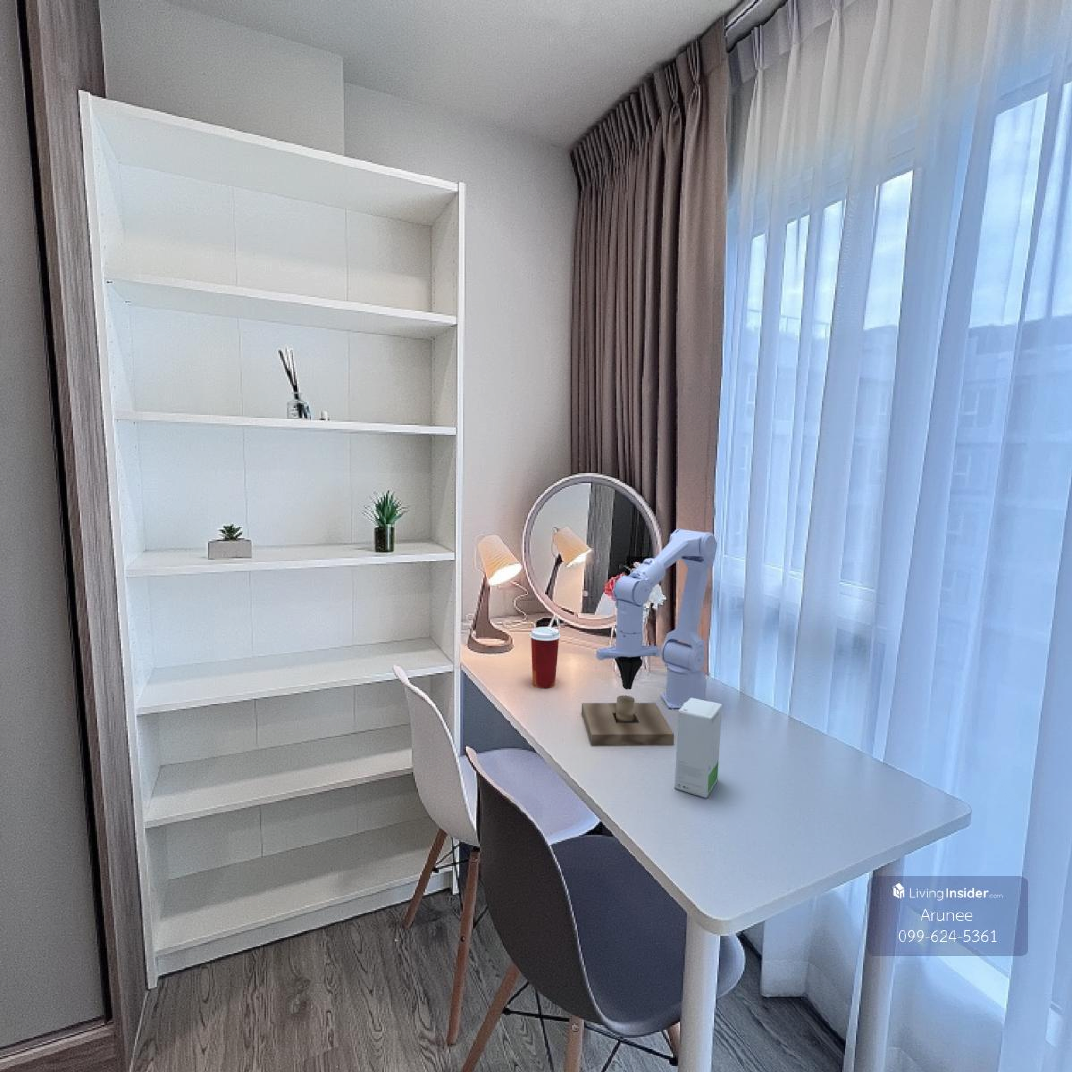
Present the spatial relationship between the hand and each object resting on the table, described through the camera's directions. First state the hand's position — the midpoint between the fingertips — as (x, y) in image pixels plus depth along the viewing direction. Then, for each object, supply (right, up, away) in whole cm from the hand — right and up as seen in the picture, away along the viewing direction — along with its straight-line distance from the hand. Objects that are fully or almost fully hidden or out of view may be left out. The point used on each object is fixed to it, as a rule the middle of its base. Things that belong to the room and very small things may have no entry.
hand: (626, 687), depth 135 cm
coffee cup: (-19, -6, +26) cm, 33 cm away
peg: (0, -10, +1) cm, 10 cm away
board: (0, -10, +1) cm, 10 cm away
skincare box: (+10, -13, -21) cm, 27 cm away
